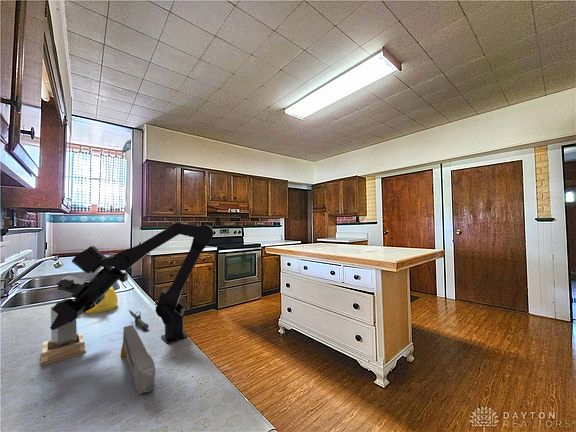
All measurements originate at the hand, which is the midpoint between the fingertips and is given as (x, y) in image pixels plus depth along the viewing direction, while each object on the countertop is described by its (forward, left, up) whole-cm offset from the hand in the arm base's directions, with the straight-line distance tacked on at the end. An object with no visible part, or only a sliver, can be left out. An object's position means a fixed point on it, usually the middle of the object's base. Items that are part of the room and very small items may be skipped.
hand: (58, 324), depth 75 cm
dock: (-1, -1, -8) cm, 8 cm away
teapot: (+40, -13, -9) cm, 43 cm away
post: (-1, -1, -7) cm, 7 cm away
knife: (+7, -22, -9) cm, 25 cm away
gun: (-28, -14, -9) cm, 32 cm away
